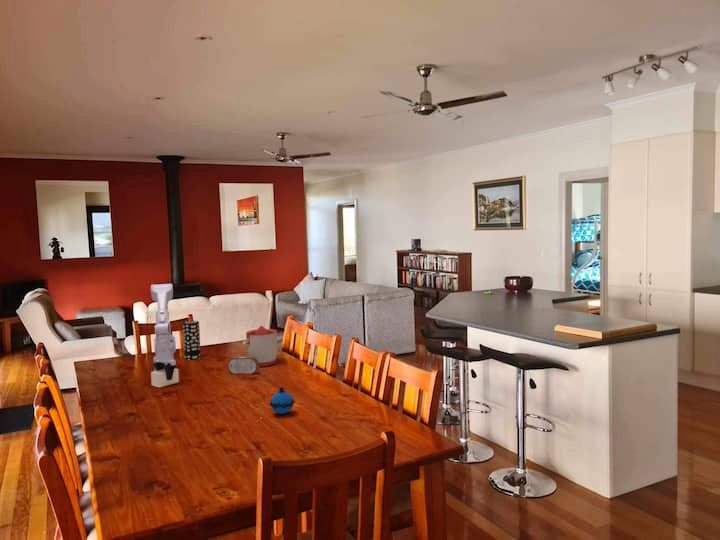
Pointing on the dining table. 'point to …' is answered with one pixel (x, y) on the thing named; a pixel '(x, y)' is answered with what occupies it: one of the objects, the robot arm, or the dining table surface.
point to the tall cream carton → (163, 378)
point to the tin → (243, 365)
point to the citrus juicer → (262, 345)
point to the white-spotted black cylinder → (191, 340)
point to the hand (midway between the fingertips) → (165, 378)
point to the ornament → (282, 402)
